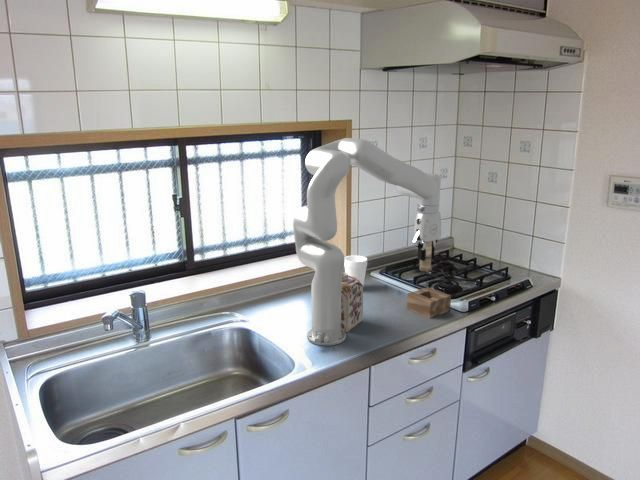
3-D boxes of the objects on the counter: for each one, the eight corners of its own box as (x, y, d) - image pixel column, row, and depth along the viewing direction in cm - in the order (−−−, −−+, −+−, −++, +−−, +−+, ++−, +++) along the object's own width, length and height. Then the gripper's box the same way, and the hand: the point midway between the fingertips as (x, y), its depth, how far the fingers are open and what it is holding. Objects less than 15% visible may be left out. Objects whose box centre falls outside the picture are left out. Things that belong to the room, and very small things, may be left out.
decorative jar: (347, 333, 172) (347, 282, 167) (317, 325, 177) (317, 276, 173) (363, 320, 181) (364, 271, 177) (334, 313, 187) (334, 266, 183)
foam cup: (366, 285, 216) (367, 255, 212) (366, 293, 207) (367, 262, 203) (344, 285, 216) (344, 255, 213) (342, 292, 208) (343, 261, 204)
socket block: (429, 318, 183) (430, 302, 181) (406, 308, 191) (407, 293, 190) (450, 310, 189) (451, 295, 188) (427, 301, 198) (428, 287, 196)
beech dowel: (431, 271, 186) (432, 239, 183) (419, 271, 187) (421, 238, 184) (430, 268, 190) (432, 236, 187) (419, 267, 191) (420, 235, 188)
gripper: (420, 213, 175) (418, 265, 179) (451, 207, 185) (448, 256, 190) (404, 210, 180) (402, 260, 185) (434, 204, 190) (432, 252, 195)
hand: (425, 258), depth 187 cm, fingers closed on beech dowel, 4 cm apart
